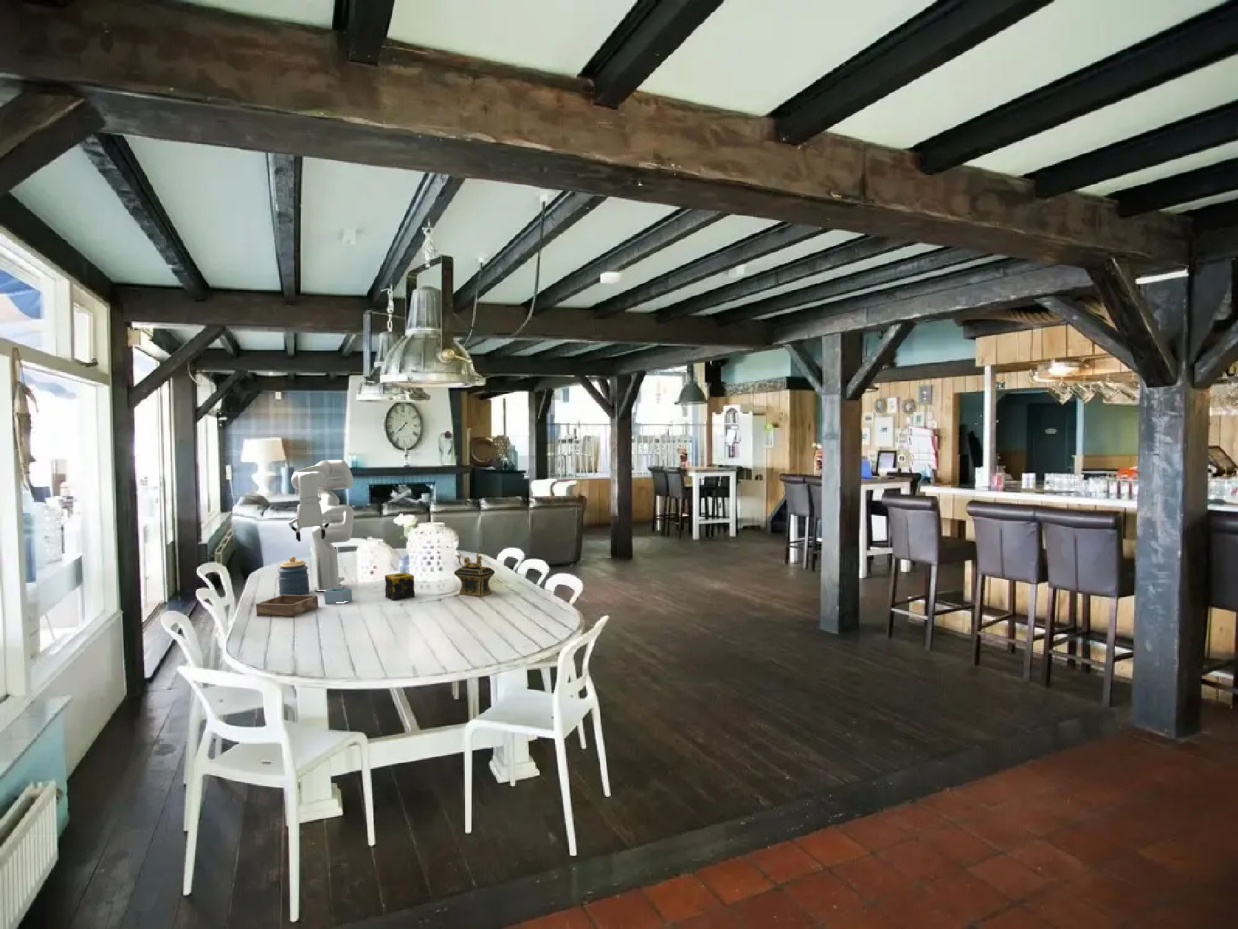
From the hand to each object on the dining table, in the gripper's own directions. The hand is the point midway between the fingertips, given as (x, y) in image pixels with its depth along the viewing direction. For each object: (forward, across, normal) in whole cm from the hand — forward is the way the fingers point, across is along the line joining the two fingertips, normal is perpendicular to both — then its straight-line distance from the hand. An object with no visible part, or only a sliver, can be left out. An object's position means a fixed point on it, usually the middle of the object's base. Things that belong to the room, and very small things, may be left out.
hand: (311, 540), depth 314 cm
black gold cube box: (+28, -33, +15) cm, 46 cm away
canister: (+27, +4, -25) cm, 37 cm away
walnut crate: (+28, +12, +8) cm, 32 cm away
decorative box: (+28, -61, +30) cm, 74 cm away
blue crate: (+28, -9, +6) cm, 30 cm away
